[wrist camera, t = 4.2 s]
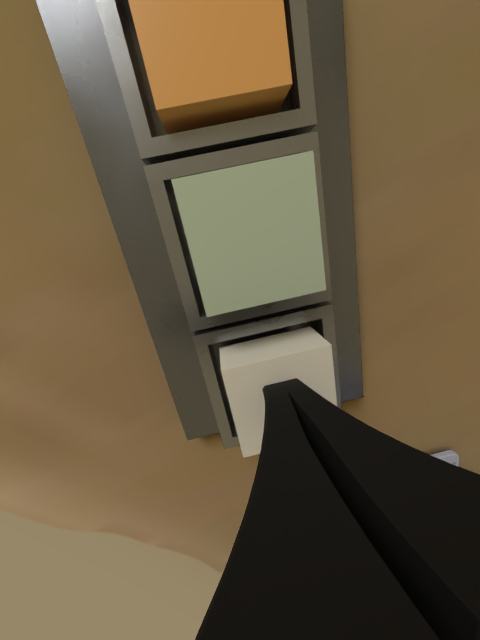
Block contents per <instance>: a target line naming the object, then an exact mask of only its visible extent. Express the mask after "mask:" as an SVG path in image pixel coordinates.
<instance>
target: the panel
mask: <svg viewBox="0 0 480 640" xmlns="http://www.w3.org/2000/svg"><path fill="white" fill-rule="evenodd" d="M36 2H37V5H38V8H39V11H40V14H41V16H42V19H43V22H44V25H45V28H46V31H47V34H48V37H49V40H50V43H51V45H52V48H53V51H54V54H55V57H56V60H57V63H58V66H59V69H60V72H61V74H62V77H63V80H64V83H65V86H66V89H67V92H68V95H69V98H70V101H71V103H72V106H73V109H74V112H75V115H76V118H77V121H78V124H79V127H80V130H81V133H82V135H83V138H84V141H85V144H86V147H87V150H88V153H89V156H90V159H91V162H92V164H93V167H94V170H95V173H96V176H97V179H98V182H99V185H100V188H101V191H102V193H103V196H104V199H105V202H106V205H107V208H108V211H109V214H110V217H111V220H112V222H113V225H114V228H115V231H116V234H117V237H118V240H119V243H120V246H121V249H122V251H123V254H124V257H125V260H126V263H127V266H128V269H129V272H130V275H131V278H132V280H133V283H134V286H135V289H136V292H137V295H138V298H139V301H140V304H141V307H142V310H143V312H144V315H145V318H146V321H147V324H148V327H149V330H150V333H151V336H152V339H153V341H154V344H155V347H156V350H157V353H158V356H159V359H160V362H161V365H162V368H163V370H164V373H165V376H166V379H167V382H168V385H169V388H170V391H171V394H172V397H173V399H174V402H175V405H176V408H177V411H178V414H179V417H180V420H181V423H182V426H183V428H184V431H185V434H186V437H187V440H191V439H195V438H199V437H203V436H207V435H211V434H215V433H219V432H220V435H221V438H222V442H223V445H224V449H225V448H229V447H233V446H237V445H240V443H239V439H238V435H237V431H236V427H235V423H234V419H233V416H232V412H231V408H230V404H229V400H228V396H227V393H226V389H225V385H224V381H223V377H222V373H221V366H220V351H219V348H220V347H224V346H229V345H233V344H237V343H241V342H246V341H250V340H254V339H258V338H263V337H267V336H271V335H276V334H280V333H284V332H288V331H293V330H297V329H301V328H306V327H311V328H312V329H314V330H315V331H316V332H317V333H318V334H320V335H321V336H322V337H323V338H324V339H325V340H327V341H328V342H329V343H330V344H331V345H332V356H333V367H334V377H335V388H336V399H337V407H339V408H340V409H342V405H341V402H344V401H348V400H352V399H356V398H360V397H363V383H362V364H361V345H360V326H359V307H358V288H357V269H356V250H355V231H354V212H353V193H352V174H351V155H350V136H349V117H348V98H347V78H346V59H345V40H344V21H343V2H342V0H283V2H284V11H285V20H286V29H287V38H288V48H289V57H290V66H291V75H292V86H291V88H290V90H289V92H288V94H287V96H286V98H285V100H284V102H283V104H282V106H281V107H280V109H279V111H278V113H275V114H270V115H265V116H260V117H254V118H249V119H244V120H239V121H234V122H229V123H224V124H219V125H214V126H209V127H204V128H199V129H193V130H188V131H183V132H178V133H173V134H168V135H167V134H166V132H165V130H164V127H163V125H162V122H161V120H160V118H159V115H158V113H157V111H156V107H155V103H154V99H153V95H152V91H151V88H150V84H149V80H148V76H147V72H146V68H145V64H144V60H143V56H142V52H141V49H140V45H139V41H138V37H137V33H136V29H135V25H134V21H133V17H132V14H131V10H130V6H129V2H128V0H36ZM308 151H313V153H314V164H315V175H316V185H317V196H318V207H319V217H320V228H321V239H322V249H323V260H324V271H325V281H326V290H324V291H320V292H315V293H311V294H306V295H302V296H298V297H293V298H289V299H285V300H280V301H276V302H271V303H267V304H263V305H258V306H254V307H249V308H245V309H241V310H236V311H232V312H228V313H223V314H219V315H214V316H210V317H207V316H206V312H205V308H204V304H203V300H202V297H201V293H200V289H199V285H198V281H197V277H196V274H195V270H194V266H193V262H192V258H191V254H190V250H189V247H188V243H187V239H186V235H185V231H184V227H183V224H182V220H181V216H180V212H179V208H178V204H177V201H176V197H175V193H174V189H173V185H172V181H171V179H176V178H181V177H186V176H191V175H195V174H200V173H205V172H210V171H215V170H220V169H225V168H230V167H235V166H240V165H244V164H249V163H254V162H259V161H264V160H269V159H274V158H279V157H284V156H289V155H293V154H298V153H303V152H308Z"/></svg>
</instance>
